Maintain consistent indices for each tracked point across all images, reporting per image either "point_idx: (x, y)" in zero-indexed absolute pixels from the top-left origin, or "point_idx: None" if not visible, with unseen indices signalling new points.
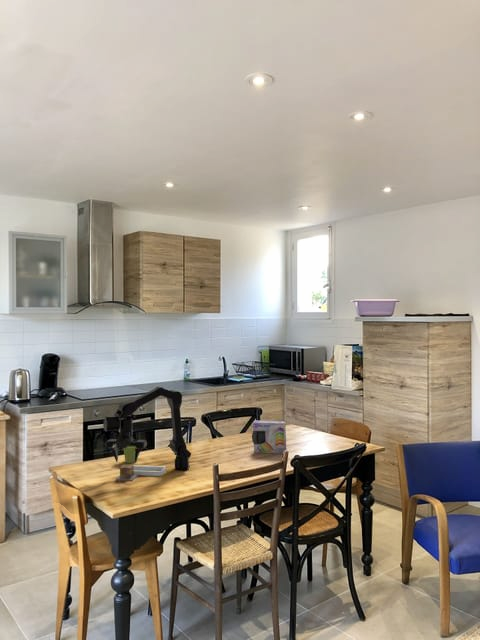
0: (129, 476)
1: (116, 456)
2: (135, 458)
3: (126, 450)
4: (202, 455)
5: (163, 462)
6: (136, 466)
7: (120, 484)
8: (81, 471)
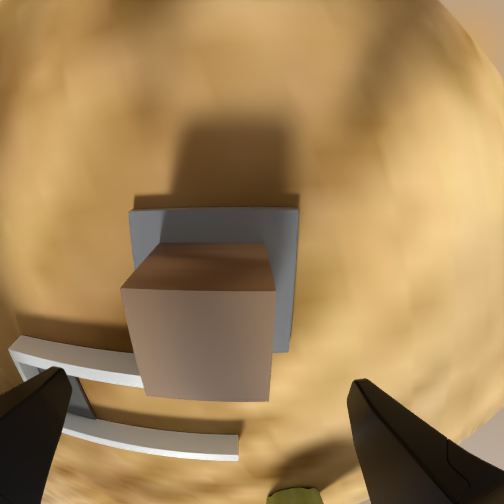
0: (161, 248)
1: (389, 441)
2: (23, 394)
3: None
4: (76, 498)
5: (145, 489)
6: (215, 452)
7: (207, 92)
8: (501, 352)
